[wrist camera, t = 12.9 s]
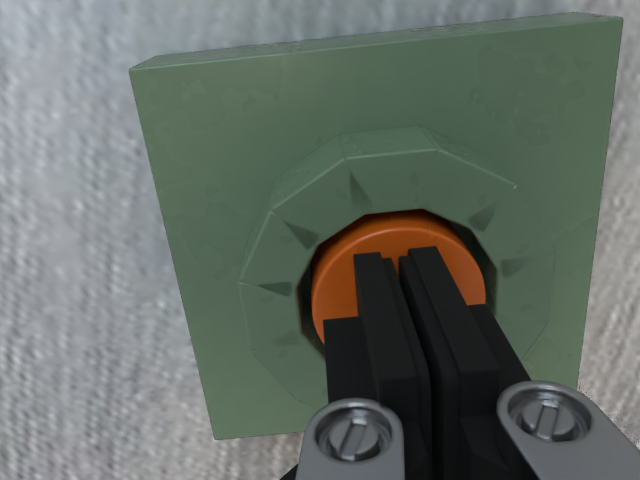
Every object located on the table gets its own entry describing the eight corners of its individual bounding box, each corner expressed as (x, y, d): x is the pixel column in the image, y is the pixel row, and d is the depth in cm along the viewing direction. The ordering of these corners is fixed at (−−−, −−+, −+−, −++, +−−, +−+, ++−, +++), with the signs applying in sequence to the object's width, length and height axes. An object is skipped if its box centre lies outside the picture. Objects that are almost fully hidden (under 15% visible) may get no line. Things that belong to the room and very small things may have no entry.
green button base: (153, 55, 13) (96, 83, 9) (575, 11, 13) (681, 22, 9) (224, 388, 17) (204, 495, 14) (543, 357, 17) (608, 457, 14)
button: (302, 205, 12) (302, 237, 11) (465, 188, 12) (489, 219, 11) (318, 339, 14) (320, 385, 12) (463, 325, 14) (484, 370, 12)
